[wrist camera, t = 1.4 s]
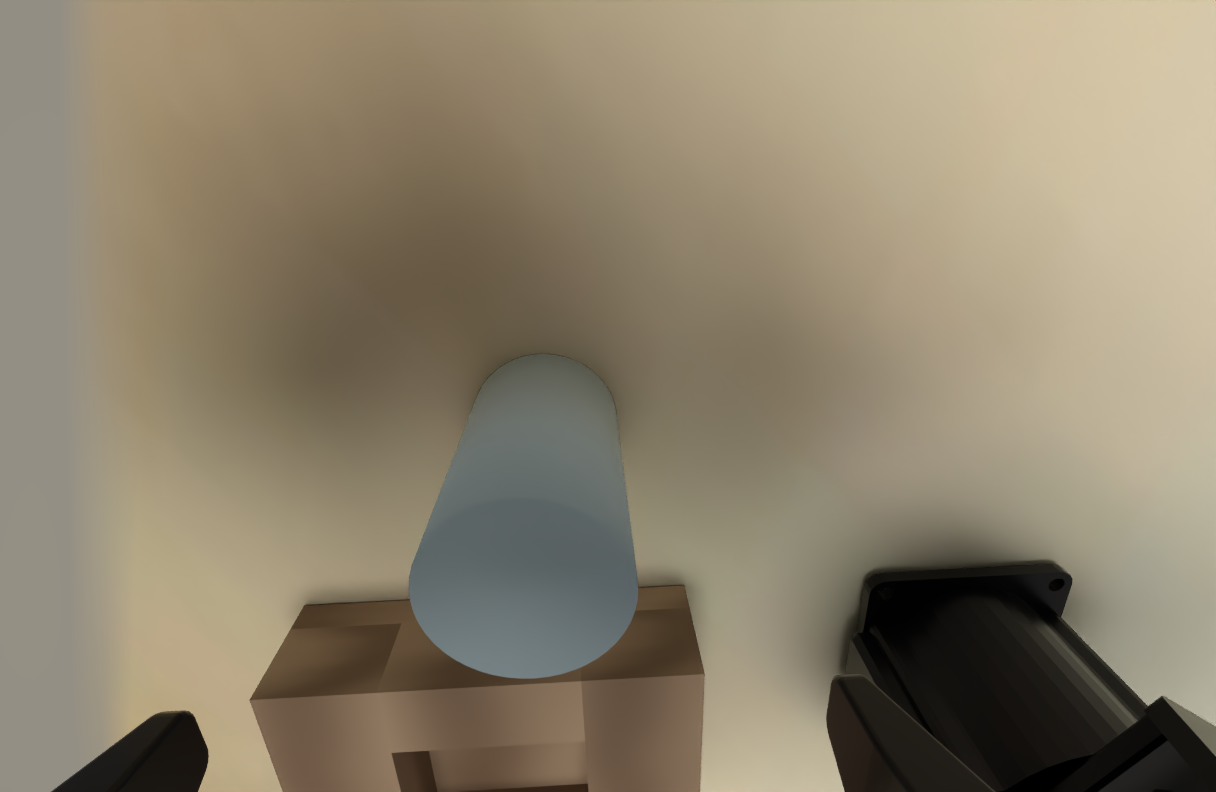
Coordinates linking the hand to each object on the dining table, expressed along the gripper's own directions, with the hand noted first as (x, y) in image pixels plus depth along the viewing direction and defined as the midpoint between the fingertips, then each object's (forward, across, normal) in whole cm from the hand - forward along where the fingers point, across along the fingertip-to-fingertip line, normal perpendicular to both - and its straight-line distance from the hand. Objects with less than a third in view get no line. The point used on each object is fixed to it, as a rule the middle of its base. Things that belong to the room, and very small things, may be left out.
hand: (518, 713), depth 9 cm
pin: (+9, 0, 0) cm, 9 cm away
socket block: (+9, +2, +11) cm, 14 cm away
